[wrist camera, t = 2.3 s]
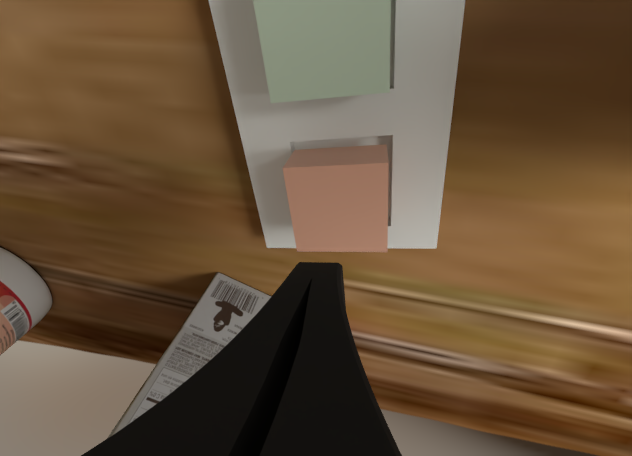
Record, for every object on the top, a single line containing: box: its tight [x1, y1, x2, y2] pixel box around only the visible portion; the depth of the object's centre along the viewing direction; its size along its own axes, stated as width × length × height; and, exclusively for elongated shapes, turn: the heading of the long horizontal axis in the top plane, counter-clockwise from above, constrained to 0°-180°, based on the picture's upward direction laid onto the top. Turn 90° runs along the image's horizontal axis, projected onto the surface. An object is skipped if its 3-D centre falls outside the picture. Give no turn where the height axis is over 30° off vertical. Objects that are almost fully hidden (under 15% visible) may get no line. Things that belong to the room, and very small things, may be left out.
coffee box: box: [107, 272, 271, 439], centre depth 19 cm, size 9×6×16 cm
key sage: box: [253, 0, 391, 103], centre depth 11 cm, size 4×4×2 cm
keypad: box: [208, 0, 465, 248], centre depth 13 cm, size 22×10×2 cm, turn 6°
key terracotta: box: [282, 144, 389, 252], centre depth 15 cm, size 4×4×2 cm
